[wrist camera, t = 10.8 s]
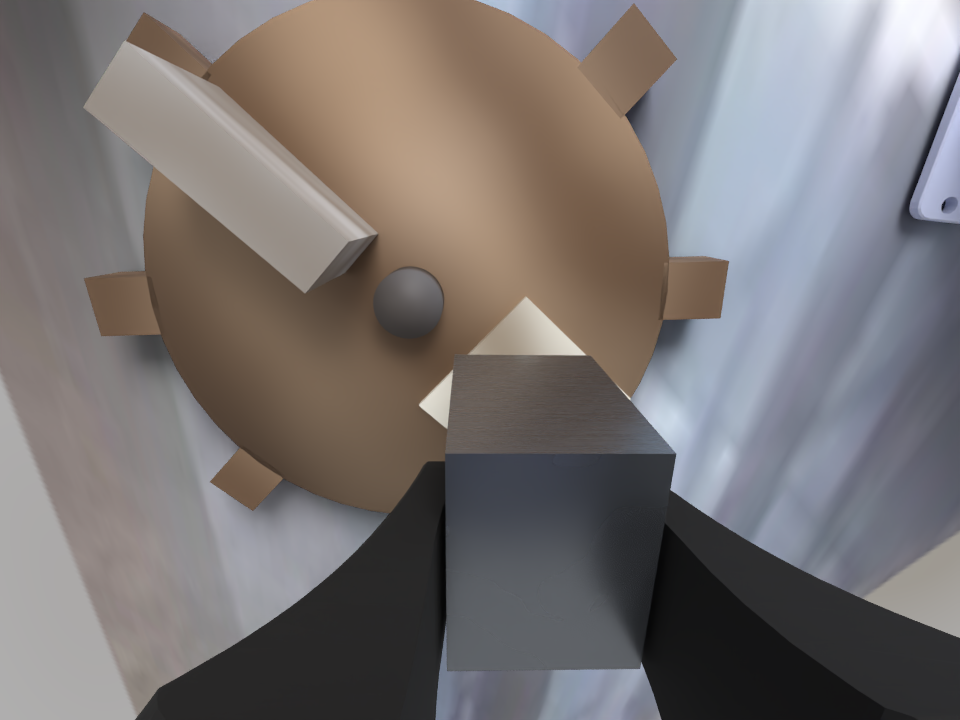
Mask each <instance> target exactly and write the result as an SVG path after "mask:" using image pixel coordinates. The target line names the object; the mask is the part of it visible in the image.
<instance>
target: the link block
mask: <svg viewBox="0 0 960 720" xmlns="http://www.w3.org/2000/svg"><path fill="white" fill-rule="evenodd" d="M675 458H676V453H675V452H674V451H673V450H672V448H671V447H670V446H669V445H668V444H667V443H666V441H665V440H664V439H663V438H662V437H661V436H660V435H659V433H658V432H657V431H656V430H655V429H654V428H653V427H652V425H651V424H650V423H649V422H648V421H647V420H646V418H645V417H644V416H643V415H642V414H641V413H640V412H639V410H638V409H637V408H636V407H635V406H634V405H633V404H632V402H631V401H630V400H629V399H628V398H627V397H626V395H625V394H624V393H623V392H622V391H621V390H620V389H619V387H618V386H617V385H616V384H615V383H614V382H613V380H612V379H611V378H610V377H609V376H608V375H607V374H606V372H605V371H604V370H603V369H602V368H601V367H600V366H599V364H598V363H597V362H596V361H595V360H594V359H593V357H592V356H591V355H462V354H455V355H454V365H453V376H452V386H451V396H450V407H449V417H448V428H447V438H446V449H445V504H446V615H447V671H502V670H580V669H640V666H641V660H642V654H643V648H644V642H645V636H646V630H647V624H648V618H649V612H650V606H651V600H652V594H653V589H654V583H655V577H656V571H657V565H658V559H659V553H660V547H661V541H662V535H663V529H664V523H665V517H666V512H667V506H668V500H669V494H670V488H671V482H672V476H673V470H674V464H675Z"/></svg>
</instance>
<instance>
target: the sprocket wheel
mask: <svg viewBox="0 0 960 720" xmlns="http://www.w3.org/2000/svg"><path fill="white" fill-rule="evenodd" d="M676 60H677V58H676V57H675V56H674V55H673V53H672V52H671V51H670V49H669V48H668V47H667V45H666V44H665V43H664V42H663V40H662V39H661V38H660V36H659V35H658V34H657V33H656V31H655V30H654V29H653V27H652V26H651V25H650V23H649V22H648V21H647V20H646V18H645V17H644V16H643V14H642V13H641V12H640V10H639V9H638V8H637V7H636V5H635V4H633V5H632V6H631V7H630V8H629V9H628V11H627V12H626V13H625V14H624V15H623V16H622V17H621V18H620V20H619V21H618V22H617V23H616V24H615V25H614V26H613V27H612V29H611V30H610V31H609V32H608V33H607V34H606V35H605V37H604V38H603V39H602V40H601V41H600V42H599V43H598V44H597V46H596V47H595V48H594V49H593V50H592V51H591V52H590V53H589V55H588V56H587V57H586V58H585V59H584V60H583V61H582V62H580V61H579V60H578V59H577V58H575V57H574V56H573V55H572V54H570V53H569V52H568V51H567V50H565V49H564V48H563V47H561V46H560V45H559V44H558V43H556V42H555V41H554V40H552V39H551V38H550V37H549V36H547V35H546V34H545V33H543V32H541V31H539V30H538V29H536V28H534V27H532V26H531V25H529V24H527V23H525V22H523V21H522V20H520V19H518V18H516V17H515V16H513V15H511V14H509V13H507V12H504V11H502V10H499V9H496V8H494V7H491V6H489V5H486V4H483V3H481V2H478V1H476V0H314V1H310V2H307V3H305V4H303V5H301V6H298V7H296V8H294V9H292V10H289V11H287V12H285V13H283V14H280V15H278V16H276V17H274V18H272V19H270V20H269V21H267V22H266V23H264V24H263V25H261V26H259V27H258V28H256V29H255V30H253V31H252V32H250V33H249V34H247V35H246V36H244V37H243V38H241V39H240V40H238V41H237V42H236V43H235V44H234V45H233V46H232V47H231V48H230V49H229V50H228V51H226V52H225V53H224V54H223V55H222V56H221V57H220V58H219V59H218V60H217V61H215V62H214V63H213V64H211V63H210V62H209V61H208V60H207V59H206V58H205V57H204V56H203V55H202V54H201V53H200V52H198V51H197V50H196V49H195V48H194V47H193V46H192V45H191V44H190V43H189V42H188V41H187V40H186V39H184V38H183V37H182V36H181V35H180V34H179V33H177V32H176V31H174V30H172V29H171V28H169V27H167V26H166V25H164V24H162V23H161V22H159V21H157V20H156V19H154V18H152V17H151V16H149V15H148V14H146V13H143V14H142V16H141V18H140V19H139V21H138V23H137V24H136V26H135V27H134V29H133V31H132V32H131V34H130V35H129V37H128V39H127V40H126V41H125V40H124V42H123V43H122V45H121V47H120V48H119V50H118V51H117V53H116V55H115V56H114V58H113V60H112V61H111V63H110V64H109V66H108V68H107V69H106V71H105V73H104V74H103V76H102V77H101V79H100V81H99V82H98V84H97V85H96V87H95V89H94V90H93V92H92V94H91V95H90V97H89V98H88V100H87V102H86V103H85V105H84V107H83V108H85V109H86V110H87V111H88V112H89V113H91V114H92V115H93V116H94V117H95V118H97V119H98V120H99V121H100V122H101V123H102V124H104V125H105V126H106V127H107V128H108V129H110V130H111V131H112V132H113V133H114V134H116V135H117V136H118V137H119V138H120V139H122V140H123V141H124V142H125V143H126V144H128V145H129V146H130V147H131V148H132V149H133V150H135V151H136V152H137V153H138V154H139V155H141V156H142V157H143V158H144V159H145V160H147V161H148V162H149V163H150V164H151V165H153V166H154V167H153V172H152V176H151V181H150V185H149V190H148V194H147V199H146V208H145V221H144V234H143V240H144V258H145V271H136V272H117V273H112V274H106V275H101V276H95V277H89V278H84V280H85V283H86V287H87V290H88V293H89V297H90V300H91V303H92V307H93V310H94V313H95V317H96V320H97V323H98V327H99V330H100V333H101V336H123V335H158V334H161V336H162V339H163V341H164V343H165V345H166V347H167V349H168V352H169V354H170V356H171V358H172V360H173V362H174V364H175V367H176V369H177V370H178V372H179V374H180V375H181V377H182V378H183V380H184V382H185V383H186V385H187V386H188V388H189V390H190V391H191V393H192V394H193V396H194V398H195V399H196V400H197V401H198V403H199V404H200V405H201V406H202V408H203V409H204V410H205V411H206V413H207V414H208V415H209V416H210V418H211V419H212V420H213V421H214V423H215V424H216V425H217V426H218V427H219V428H220V429H221V430H222V431H223V432H224V433H225V434H226V435H227V436H228V437H229V438H230V439H231V440H232V441H233V442H234V443H235V444H236V445H238V446H239V447H240V448H239V450H238V451H237V452H236V453H235V454H234V455H233V456H232V457H231V459H230V460H229V461H228V462H227V463H226V464H225V465H224V466H223V468H222V469H221V470H220V471H219V472H218V473H217V474H216V475H215V477H214V478H213V479H212V480H211V481H210V482H211V483H212V484H214V485H215V486H217V487H218V488H220V489H221V490H223V491H224V492H226V493H227V494H229V495H230V496H231V497H233V498H234V499H236V500H237V501H239V502H240V503H242V504H243V505H245V506H246V507H248V508H249V509H251V510H252V511H253V510H254V509H255V508H256V507H257V506H258V505H259V504H260V503H261V502H262V501H263V500H264V499H265V497H266V496H267V495H268V494H269V493H270V492H271V491H272V490H273V489H274V488H275V487H276V486H277V485H278V484H279V483H280V481H281V480H282V479H283V478H284V479H285V480H287V481H289V482H291V483H293V484H295V485H297V486H299V487H301V488H303V489H305V490H307V491H309V492H311V493H314V494H316V495H319V496H322V497H324V498H327V499H330V500H333V501H336V502H338V503H341V504H345V505H349V506H353V507H357V508H361V509H366V510H370V511H377V512H385V513H391V511H392V510H393V509H394V508H395V506H396V505H397V504H398V502H399V501H400V500H401V498H402V497H403V496H404V494H405V493H406V492H407V490H408V489H409V487H410V486H411V484H412V483H413V481H414V480H415V478H416V477H417V475H418V474H419V472H420V470H421V468H422V467H423V465H424V464H425V463H426V462H428V461H445V449H446V438H447V428H448V417H449V407H450V396H451V386H452V376H453V365H454V355H455V354H462V355H591V356H592V357H593V359H594V360H595V361H596V362H597V363H598V364H599V366H600V367H601V368H602V369H603V370H604V371H605V372H606V374H607V375H608V376H609V377H610V378H611V379H612V380H613V382H614V383H615V384H616V385H617V386H618V387H619V389H620V390H621V391H622V392H623V393H624V394H625V395H626V397H627V398H628V399H629V400H631V397H632V395H633V394H634V392H635V390H636V389H637V387H638V385H639V384H640V382H641V379H642V377H643V375H644V373H645V371H646V368H647V366H648V364H649V362H650V359H651V357H652V355H653V352H654V349H655V345H656V342H657V339H658V336H659V332H660V329H661V326H662V322H663V320H677V319H711V318H720V317H721V310H722V304H723V297H724V290H725V283H726V277H727V270H728V263H729V261H726V260H721V259H716V258H711V257H706V256H695V257H669V250H668V239H667V227H666V220H665V216H664V211H663V207H662V202H661V198H660V193H659V189H658V186H657V183H656V180H655V177H654V175H653V172H652V169H651V167H650V164H649V161H648V158H647V156H646V153H645V151H644V149H643V147H642V145H641V144H640V142H639V140H638V138H637V136H636V134H635V132H634V130H633V128H632V127H631V125H630V123H629V121H628V119H627V118H626V116H625V114H626V113H627V112H628V111H629V110H630V109H631V108H632V107H633V106H634V104H635V103H636V102H637V101H638V100H639V99H640V98H641V97H642V96H643V95H644V94H645V93H646V92H647V91H648V90H649V88H650V87H651V86H652V85H653V84H654V83H655V82H656V81H657V80H658V79H659V78H660V77H661V76H662V75H663V74H664V73H665V71H666V70H667V69H668V68H669V67H670V66H671V65H672V64H673V63H674V62H675V61H676Z"/></svg>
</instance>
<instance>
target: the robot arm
mask: <svg viewBox="0 0 960 720" xmlns="http://www.w3.org/2000/svg"><path fill="white" fill-rule="evenodd" d="M944 200H945V201H946V203H945V207H944V209H943V210H941V206H942V203H943V202H944ZM909 210H910V214H911V215H912V216H913V218H916V219H918V220H927V221H936V222H945V223H954V224H960V73H959V76H958V78H957V81H956V84H955V86H954V89H953V91H952V94H951V97H950V99H949V102H948V105H947V107H946V110H945V113H944V115H943V118H942V120H941V123H940V126H939V128H938V131H937V134H936V136H935V139H934V142H933V144H932V147H931V149H930V152H929V155H928V157H927V160H926V163H925V165H924V168H923V171H922V173H921V176H920V178H919V181H918V184H917V186H916V189H915V192H914V194H913V197H912V200H911V202H910V207H909ZM446 619H447V615H446V504H445V461H428V462H426V463H425V464H424V465H423V467H422V468H421V470H420V472H419V474H418V475H417V477H416V478H415V480H414V481H413V483H412V484H411V486H410V487H409V489H408V490H407V492H406V493H405V494H404V496H403V497H402V498H401V500H400V501H399V502H398V504H397V505H396V506H395V508H394V509H393V510H392V511H391V513H390V514H389V515H388V516H387V518H386V519H385V520H384V521H383V522H382V523H381V524H380V526H379V527H378V528H377V529H376V530H375V531H374V532H373V534H372V535H371V536H370V537H369V538H368V539H367V540H366V541H365V542H364V543H363V544H362V545H361V547H360V548H359V549H358V550H357V551H356V552H355V553H354V554H353V555H352V556H351V557H349V558H348V559H347V560H346V561H345V562H344V563H343V564H342V565H341V566H340V567H339V568H338V569H337V570H336V571H334V572H333V573H332V574H331V575H330V576H329V577H327V578H326V579H325V580H324V581H323V582H322V583H320V584H319V585H318V586H317V587H315V588H314V589H313V590H312V591H310V592H309V593H308V594H307V595H305V596H304V597H303V598H302V599H300V600H299V601H298V602H297V603H295V604H294V605H293V606H291V607H290V608H288V609H287V610H286V611H284V612H283V613H281V614H280V615H279V616H277V617H276V618H274V619H273V620H272V621H270V622H269V623H267V624H266V625H264V626H262V627H261V628H259V629H258V630H256V631H255V632H253V633H252V634H250V635H249V636H247V637H246V638H244V639H243V640H241V641H240V642H238V643H236V644H235V645H233V646H232V647H230V648H228V649H227V650H225V651H223V652H221V653H220V654H218V655H216V656H215V657H213V658H211V659H209V660H208V661H206V662H204V663H203V664H201V665H199V666H197V667H196V668H194V669H192V670H190V671H189V672H187V673H185V674H184V675H182V676H180V677H178V678H177V679H175V680H173V681H171V682H169V683H168V684H166V685H164V686H162V687H160V688H159V689H158V690H157V691H156V693H155V694H154V696H153V697H152V698H151V700H150V701H149V702H148V704H147V705H146V706H145V708H144V709H143V710H142V712H141V713H140V714H139V715H138V717H137V718H136V719H135V720H435V718H436V700H437V689H438V679H439V670H440V663H441V655H442V648H443V641H444V633H445V626H446ZM641 662H642V664H643V667H644V669H645V672H646V675H647V677H648V680H649V683H650V685H651V688H652V691H653V694H654V697H655V700H656V703H657V706H658V710H659V713H660V716H661V719H662V720H960V638H958V637H956V636H953V635H950V634H948V633H945V632H943V631H940V630H937V629H935V628H932V627H930V626H927V625H924V624H922V623H920V622H917V621H914V620H912V619H909V618H907V617H904V616H902V615H899V614H897V613H894V612H892V611H890V610H887V609H885V608H883V607H880V606H878V605H875V604H873V603H871V602H868V601H866V600H864V599H862V598H859V597H857V596H855V595H853V594H851V593H849V592H846V591H844V590H842V589H840V588H838V587H836V586H833V585H831V584H829V583H827V582H825V581H822V580H820V579H818V578H816V577H814V576H812V575H810V574H808V573H806V572H804V571H802V570H800V569H798V568H796V567H794V566H793V565H791V564H789V563H787V562H785V561H783V560H781V559H780V558H778V557H776V556H774V555H772V554H770V553H768V552H766V551H765V550H763V549H761V548H759V547H758V546H756V545H754V544H752V543H751V542H749V541H747V540H745V539H744V538H742V537H741V536H739V535H737V534H736V533H734V532H733V531H731V530H729V529H728V528H726V527H724V526H723V525H721V524H720V523H718V522H716V521H715V520H713V519H712V518H710V517H709V516H707V515H706V514H704V513H703V512H701V511H700V510H698V509H697V508H695V507H694V506H692V505H691V504H690V503H688V502H687V501H685V500H684V499H682V498H681V497H680V496H678V495H677V494H675V493H674V492H672V491H671V490H670V494H669V500H668V506H667V512H666V517H665V523H664V529H663V535H662V541H661V547H660V553H659V559H658V565H657V571H656V577H655V583H654V589H653V594H652V600H651V606H650V612H649V618H648V624H647V630H646V636H645V642H644V648H643V654H642V660H641Z"/></svg>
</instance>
